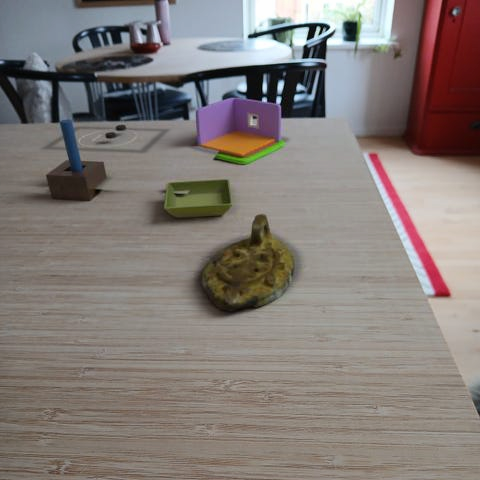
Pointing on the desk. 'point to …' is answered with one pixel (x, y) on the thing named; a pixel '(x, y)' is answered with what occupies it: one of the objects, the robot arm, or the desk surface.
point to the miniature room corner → (240, 129)
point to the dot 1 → (110, 135)
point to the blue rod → (71, 145)
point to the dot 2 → (120, 127)
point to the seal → (249, 270)
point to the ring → (100, 135)
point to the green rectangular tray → (198, 198)
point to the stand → (76, 181)
